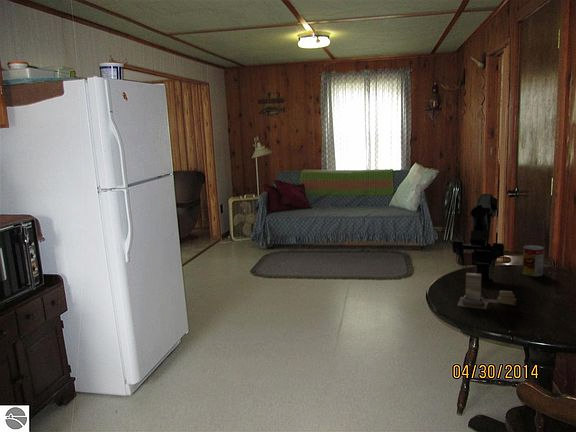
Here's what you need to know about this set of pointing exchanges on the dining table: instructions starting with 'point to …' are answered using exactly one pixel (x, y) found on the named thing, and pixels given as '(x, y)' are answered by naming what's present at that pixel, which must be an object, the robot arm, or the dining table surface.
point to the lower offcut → (505, 301)
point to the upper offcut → (506, 295)
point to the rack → (478, 302)
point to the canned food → (533, 260)
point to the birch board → (473, 286)
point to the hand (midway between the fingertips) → (475, 267)
